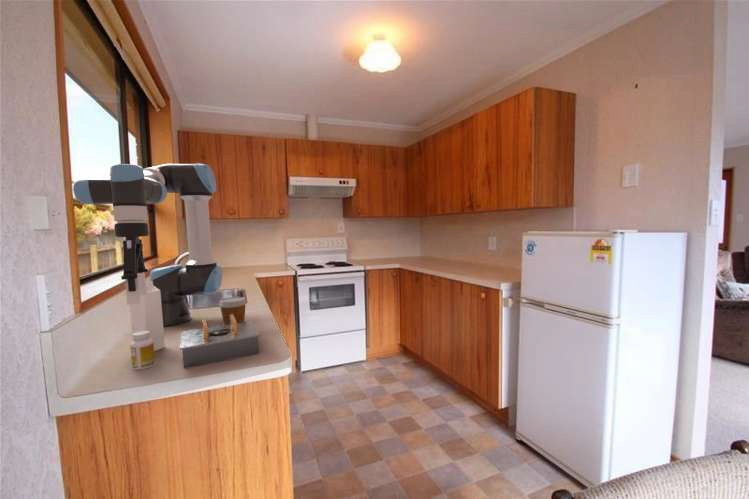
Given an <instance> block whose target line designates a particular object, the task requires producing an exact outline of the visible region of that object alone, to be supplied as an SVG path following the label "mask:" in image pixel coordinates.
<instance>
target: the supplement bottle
mask: <svg viewBox="0 0 749 499" xmlns="http://www.w3.org/2000/svg"><path fill="white" fill-rule="evenodd" d="M131 335H132V342H131V343H130V344H129V345H130V356H131V357H130V358H131V368H132V369H133V370H134V371H141V370H146V369H149V368H152V367H153V366H154V365H155V364H156V356H155V351H154V344H153V340H152V339H151V338H149V337H150V332H149V331H140V332H136V333H134V334H131ZM133 340H134V341H133Z"/></svg>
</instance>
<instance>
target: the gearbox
mask: <svg viewBox="0 0 749 499" xmlns="http://www.w3.org/2000/svg"><path fill="white" fill-rule="evenodd" d="M180 335H181V336H180V344H179V350H180V351H182V361H183V362H182V363H183V369H188V368H193V367H198V366H203V365H208V364H212V363H213V364H214V363H217V362H222V361H227V360H231V359H233V360H234V359H238V358H242V357H247V356H251V355H258V354H260V346H259V345H260V344H259V336H261V333H260V332H259V330H258V329H257V326H255V324H254V322H253V321H252V320H247V321H244V322H240V323H237V322H236V319H235V317H234V315H233V314H232V315H230V324H227V325H224V324H222V325H215V326H209V327H208V324H207V318H205V317H204V318H202V327H201V328H196V329H189V330H183V331H181V334H180Z"/></svg>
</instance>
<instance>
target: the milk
mask: <svg viewBox="0 0 749 499" xmlns="http://www.w3.org/2000/svg"><path fill="white" fill-rule="evenodd" d="M129 309H130V310H129V311H130V319H131V320H130V321H131V333H132V334H131V335H133V334H134V333H136V332H140V331H149V332H150V337H149V338H151V339H152V340H153V344H154V352H157V351H159V350H161V349H164V348H165V347H166V344H165V332H164V326H163V317H162V305H161V293H160V290H159V289H158V288H156V287H155V286H153V281H150V280H148V281H146V295H140V303H136V304H129ZM133 341H134V340H133V339H132V342H133Z"/></svg>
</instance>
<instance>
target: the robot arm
mask: <svg viewBox="0 0 749 499" xmlns="http://www.w3.org/2000/svg"><path fill="white" fill-rule="evenodd" d="M72 190H73V196H74V197H75V199H76V200H77V201H78V202H79V203H81V204H82V205H93V206H95V205H112V210H110V214H112V215H113V221H114V222H116V223H115V224H114V225H113V227H114V236H115V237H116V238H125V240H122V241H123V242H122V244H123V245H122V248H123V274H122V275H121V276H120V278H121V280H122V281H123V280H124V283H125V291H126V292H125V293H126V304H127V305H130V304H136V303H140V295H146V282H147V281H146V273H148V268H146V266H145V265H146V264H145V259H144V251H143V249H144V247H143V246H144V245H143V241H142V239H141V238H139V237H148V236H149V234H150V233H149V224H148V223H147V221H148V220H149V217H148V206H147V204H148V205H157V204H161V203H163V202H164V201H165V200H166V199H167V196H168V193H169V194H179V197H180V198H181V199H182V200H183V201H184V208H185V221H186V222H185V223H186V234H187V235H186V236H187V246H188V257H189V258H188V261H187V262H185V267H183V264H181V263H180V264H175V265H173V264H172V265H168V266H163V267H158V268H153V269H152V270H150V273H149V281H153V286H155V287H156V288H158V289H159V290H160V293H161V305H162V317H163V327H169V326H174V325H179V324H182V323H186V322H188V321H190V320H191V319H192V315H191V310H190V309H189V307H188V305H187V302H186V299H185V296H187V297H188V296H198V295H199V296H202V295H203V296H207V295H214V294H217V293H218V291H219V290H220V289H221V285H222V282H223V269H222V266H220V265H217V261H216V260H215V259H214V258H213V252H212V251H213V250H212V236H211V222H210V208H209V205H210V204H209V201H210V200H211V199H212V197H213V195H212V193H213V194H214V193H215V192H216V191H217V181H216V178H215V173H214V172H213V170H212V168H211V166H210V165H208V164H206V163H197V162H196V163H165V164H161V165H155V166H151V167H145V168H143V167H142V166H140V165H136V164H133V163H132V164H131V163H129V164H128V163H115V164H112V165H111V166H110V167H109V176H105V177H98V178H90V177H87V178H80V179H76V180H75V182H74V183H73V186H72Z"/></svg>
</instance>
